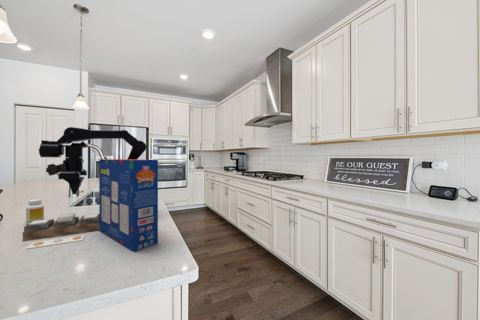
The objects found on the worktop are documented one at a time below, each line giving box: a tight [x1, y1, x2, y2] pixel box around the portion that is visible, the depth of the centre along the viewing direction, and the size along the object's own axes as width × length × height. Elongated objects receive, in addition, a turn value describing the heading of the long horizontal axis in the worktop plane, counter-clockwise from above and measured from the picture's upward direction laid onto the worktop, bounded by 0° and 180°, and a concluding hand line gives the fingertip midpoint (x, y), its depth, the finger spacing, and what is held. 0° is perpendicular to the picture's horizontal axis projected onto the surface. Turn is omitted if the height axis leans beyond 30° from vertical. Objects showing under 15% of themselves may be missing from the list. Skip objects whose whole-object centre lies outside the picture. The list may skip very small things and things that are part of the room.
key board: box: [22, 213, 100, 242], centre depth 76 cm, size 22×7×5 cm, turn 119°
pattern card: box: [25, 234, 86, 250], centre depth 68 cm, size 14×5×1 cm, turn 119°
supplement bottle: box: [25, 198, 45, 225], centre depth 88 cm, size 5×5×10 cm
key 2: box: [82, 213, 98, 220], centre depth 80 cm, size 4×4×2 cm
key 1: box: [29, 218, 51, 226], centre depth 73 cm, size 4×4×2 cm
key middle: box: [56, 212, 76, 223], centre depth 76 cm, size 4×4×2 cm
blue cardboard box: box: [98, 158, 159, 253], centre depth 72 cm, size 28×8×28 cm, turn 52°
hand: (74, 194), depth 85 cm, fingers closed
